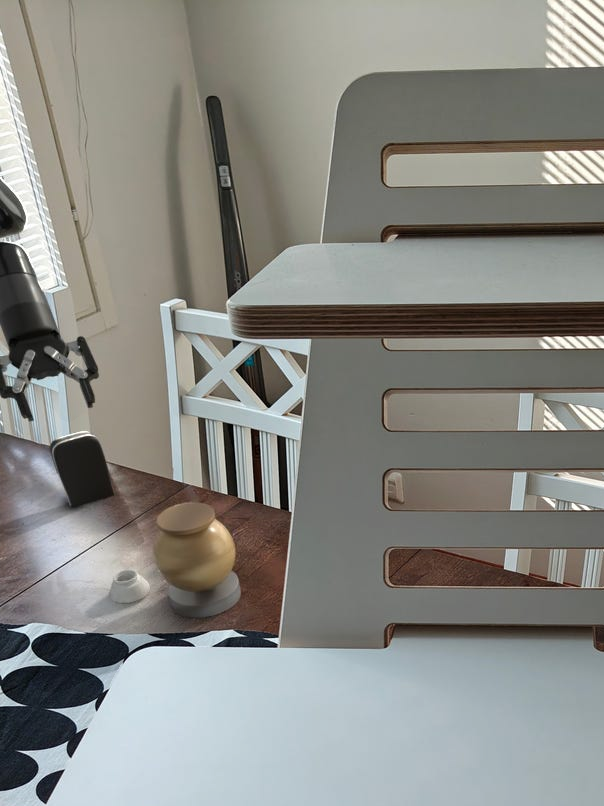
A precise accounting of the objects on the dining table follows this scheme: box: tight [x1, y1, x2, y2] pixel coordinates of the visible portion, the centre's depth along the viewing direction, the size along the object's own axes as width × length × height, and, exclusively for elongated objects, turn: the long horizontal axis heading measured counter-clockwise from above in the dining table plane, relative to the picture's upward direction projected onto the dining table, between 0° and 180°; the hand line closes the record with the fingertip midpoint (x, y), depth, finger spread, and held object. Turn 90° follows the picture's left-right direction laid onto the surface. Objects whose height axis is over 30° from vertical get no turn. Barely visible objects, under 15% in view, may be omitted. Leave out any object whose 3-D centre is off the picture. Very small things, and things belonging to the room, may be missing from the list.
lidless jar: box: [109, 569, 151, 604], centre depth 128 cm, size 5×3×5 cm
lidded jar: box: [152, 501, 242, 619], centre depth 124 cm, size 10×10×12 cm
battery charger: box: [49, 430, 116, 509], centre depth 146 cm, size 7×4×11 cm, turn 124°
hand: (61, 412), depth 145 cm, fingers open, 8 cm apart
